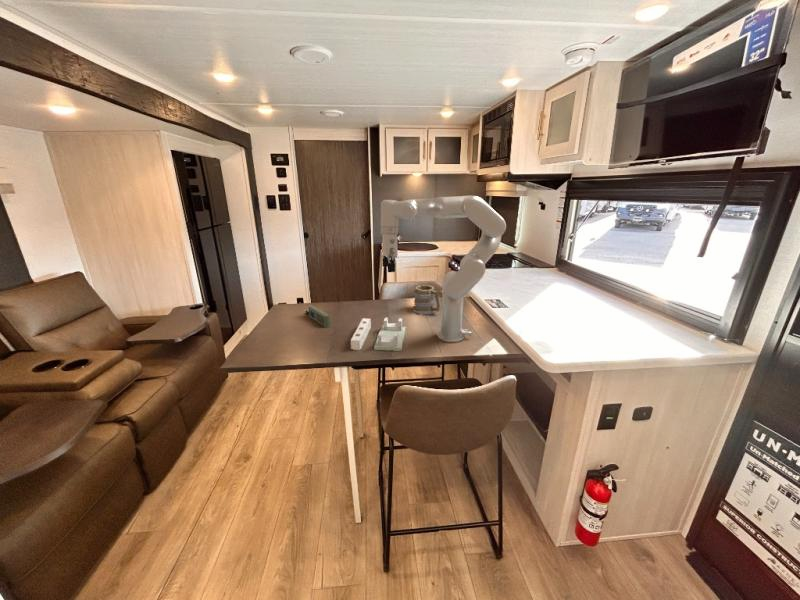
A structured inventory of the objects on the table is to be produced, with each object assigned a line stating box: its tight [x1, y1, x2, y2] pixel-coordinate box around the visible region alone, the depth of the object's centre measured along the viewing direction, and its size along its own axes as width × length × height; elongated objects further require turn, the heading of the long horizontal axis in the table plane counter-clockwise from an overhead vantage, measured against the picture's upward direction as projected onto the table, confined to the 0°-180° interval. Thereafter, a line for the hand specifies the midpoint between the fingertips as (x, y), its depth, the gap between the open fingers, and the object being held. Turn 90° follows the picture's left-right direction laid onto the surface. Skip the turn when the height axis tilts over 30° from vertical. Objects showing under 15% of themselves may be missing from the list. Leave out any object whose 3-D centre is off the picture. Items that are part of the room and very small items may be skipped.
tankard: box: [412, 284, 442, 316], centre depth 175 cm, size 20×13×15 cm, turn 43°
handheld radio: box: [305, 304, 331, 329], centre depth 167 cm, size 7×3×25 cm
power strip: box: [350, 318, 372, 351], centre depth 147 cm, size 4×24×5 cm, turn 174°
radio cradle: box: [373, 317, 407, 352], centre depth 145 cm, size 12×22×6 cm, turn 174°
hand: (388, 269), depth 139 cm, fingers open, 9 cm apart
